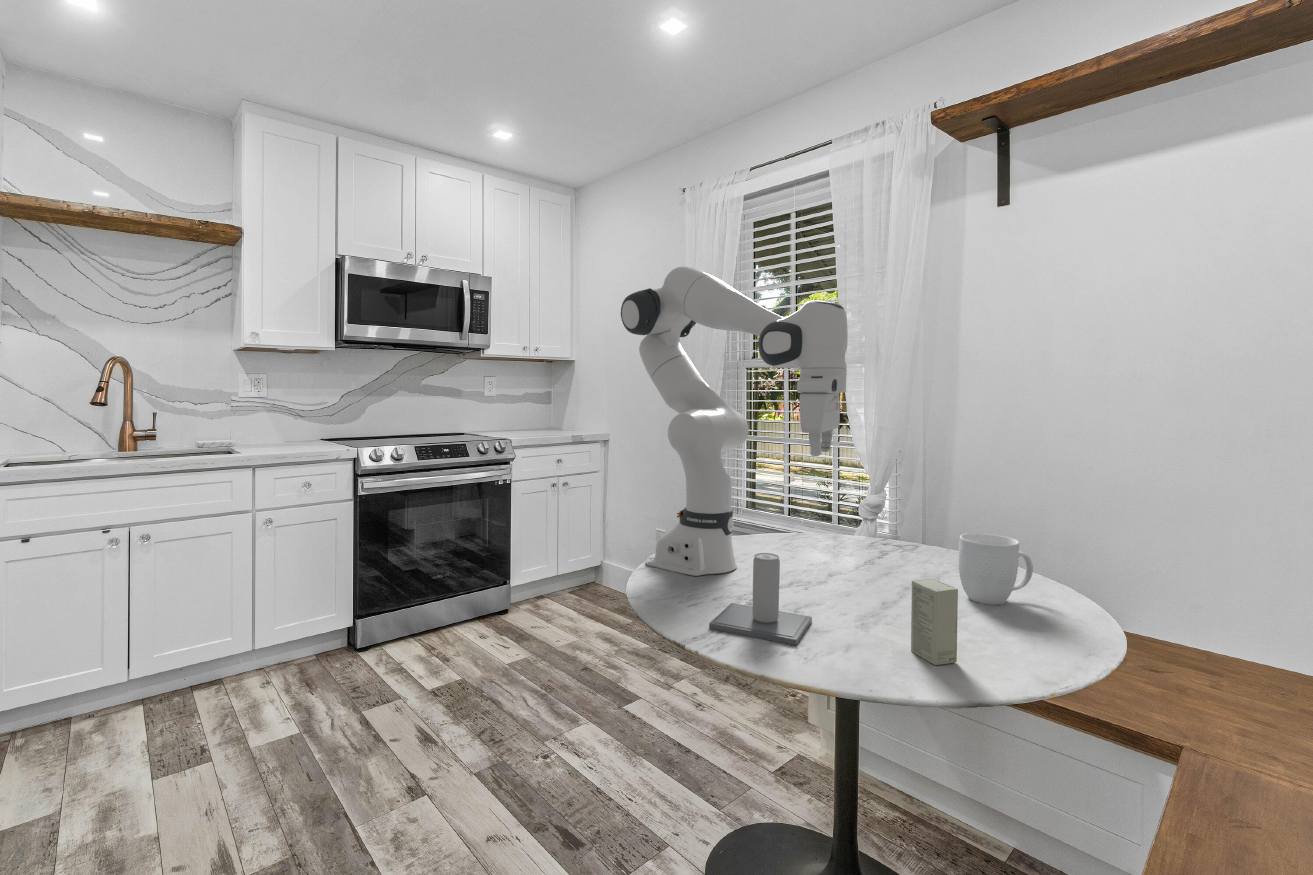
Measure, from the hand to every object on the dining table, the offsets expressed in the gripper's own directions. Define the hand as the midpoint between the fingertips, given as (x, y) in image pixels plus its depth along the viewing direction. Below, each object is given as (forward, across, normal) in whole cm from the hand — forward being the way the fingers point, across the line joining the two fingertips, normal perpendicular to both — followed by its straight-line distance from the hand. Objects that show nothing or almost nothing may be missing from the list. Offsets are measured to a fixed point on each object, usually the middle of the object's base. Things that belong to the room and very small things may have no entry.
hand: (820, 453), depth 121 cm
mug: (+31, -21, +32) cm, 49 cm away
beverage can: (+30, +15, -6) cm, 34 cm away
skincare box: (+31, +15, +22) cm, 41 cm away
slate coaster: (+31, +15, -7) cm, 35 cm away
